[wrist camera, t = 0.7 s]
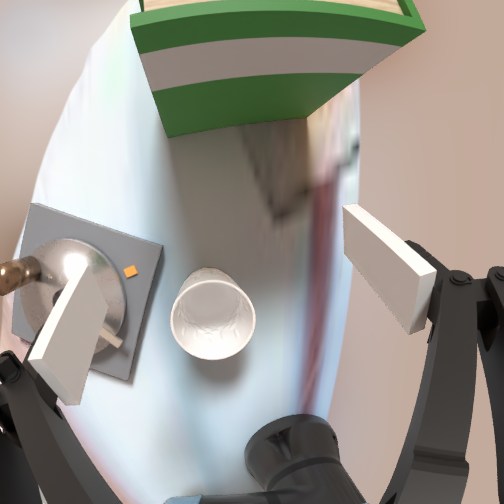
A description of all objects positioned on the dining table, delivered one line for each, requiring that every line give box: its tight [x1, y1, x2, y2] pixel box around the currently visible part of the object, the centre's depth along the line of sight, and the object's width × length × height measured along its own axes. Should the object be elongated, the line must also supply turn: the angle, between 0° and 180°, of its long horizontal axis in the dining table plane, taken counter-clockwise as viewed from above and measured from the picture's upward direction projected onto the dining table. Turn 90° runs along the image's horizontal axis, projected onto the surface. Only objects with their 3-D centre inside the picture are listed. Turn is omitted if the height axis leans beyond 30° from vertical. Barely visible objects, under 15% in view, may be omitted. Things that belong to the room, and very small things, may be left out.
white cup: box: [170, 268, 256, 360], centre depth 33 cm, size 8×8×10 cm
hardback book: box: [130, 0, 426, 138], centre depth 23 cm, size 18×7×24 cm, turn 101°
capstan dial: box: [0, 238, 126, 354], centre depth 28 cm, size 16×14×9 cm
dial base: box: [12, 203, 163, 381], centre depth 33 cm, size 18×18×2 cm
